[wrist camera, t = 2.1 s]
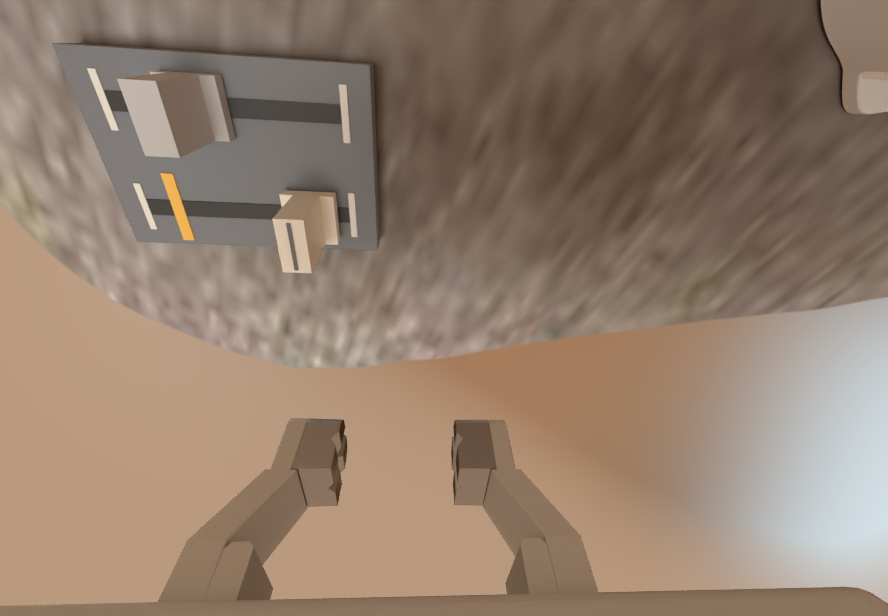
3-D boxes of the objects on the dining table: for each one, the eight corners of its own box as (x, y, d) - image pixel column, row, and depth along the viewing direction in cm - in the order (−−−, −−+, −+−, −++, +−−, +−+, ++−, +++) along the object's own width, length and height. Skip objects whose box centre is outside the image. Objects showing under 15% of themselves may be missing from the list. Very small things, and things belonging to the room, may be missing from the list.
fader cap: (335, 192, 24) (318, 221, 20) (340, 239, 26) (325, 274, 22) (283, 190, 24) (255, 219, 20) (291, 237, 26) (268, 272, 22)
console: (373, 63, 22) (356, 70, 17) (380, 238, 28) (369, 285, 23) (81, 42, 21) (-40, 43, 16) (154, 229, 27) (86, 276, 22)
